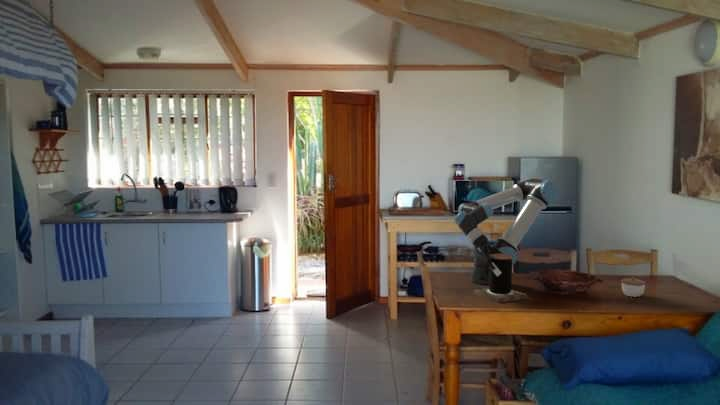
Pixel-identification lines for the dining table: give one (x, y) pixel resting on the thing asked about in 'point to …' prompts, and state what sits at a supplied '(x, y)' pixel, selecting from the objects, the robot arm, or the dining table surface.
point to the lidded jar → (633, 287)
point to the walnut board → (500, 295)
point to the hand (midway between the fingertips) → (505, 272)
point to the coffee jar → (504, 280)
